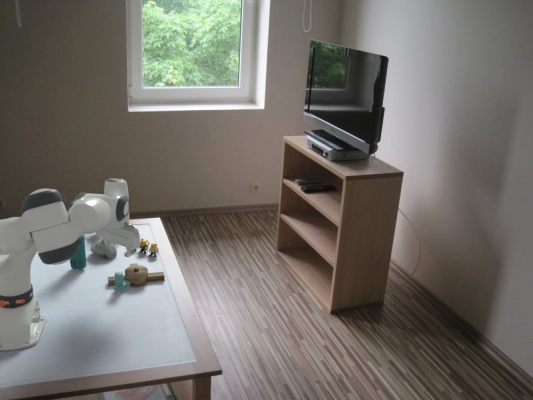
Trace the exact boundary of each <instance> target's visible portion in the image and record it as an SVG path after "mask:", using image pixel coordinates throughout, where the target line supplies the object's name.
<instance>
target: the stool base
mask: <svg viewBox="0 0 533 400" xmlns="http://www.w3.org/2000/svg"><path fill="white" fill-rule="evenodd" d="M123 280H127V281H129V282H130V288H139V287H143V286H145V285H147V284H148V283H151V282H153V283H154V282H162V281H163V282H165V272H164V271H155V272H149V269H148V268H147V267H146V266H144V265H139V264H138V263H137V262H136V263H135V262H134V263H129V266H127V267H126V268H125V270H124V274H123ZM107 282H108V283H107V285H108V287H112V286H113V287H114V285H115V275H114V276H108V277H107Z"/></svg>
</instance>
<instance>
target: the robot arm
mask: <svg viewBox="0 0 533 400" xmlns="http://www.w3.org/2000/svg"><path fill="white" fill-rule="evenodd" d="M103 189H104V190H103V193H90V192H83V191H81V192H79V193H78V194H77V195H76V196H75V198H74V200H72V201H71V202H69V205H68V210H67V208H66V205H65V203H64V202H63V201H64V198H63V196H62V195H61V192H60V191H59V190H57V189H54V188H53V189H51V188H39V189H36V190H34V191H33V192H31V193H30V194H28V195H26V197H25V198H24V200H23V201H22V203H21V204H22V205H21V208H19V209H18V210H17V211H18V212H21V216H13V217H12V216H11V217H8V218H2V219H0V256H4V255H5V256H6V255H8V256H7V257H6V258H5V259H3V260H1V261H0V351H14V350H21V349H26V348H30V347H33V346H35V345H37V344H38V342H39V340H40V337H41V335H42V333H43V330H44V329H45V325H46V323H47V317H46V316H43V315H41V310H40V301H39V299H38V298H37V297H35V296H34V287H33V283H32V281H31V279H32V277H31V267H32V262H33V260H34V258H35V256H36V254H37V255H38V257H39V259H40V261H41V262H42V263H43V265H44V264H45V265H52V266H57V265H58V266H59V265H62V264H65V263H67V262H70V259H71V258H73V257H74V256H75V254H76V253H77V251H78V249H79V245H80V244H82V241H79V239H80V238H79V237H80V236H81V235H91V234H95V235H96V236H97V237H98V238H101V239H104V242H105V244H106V249H107V250H109V251H110V250H112V249H113V248H112V245H111V243H110V242H112V243H113V244H115V245H119V246H120V247H121V246H122V247H124V248H125V249H126V251H124V257H125V258H130V257H131V252H132V251H134V250H135V249H136V250H137V249H140V248H139V247H140V243H141V237H140V232H139V228H137V227H136V225H134V224H131V223H130V196H129V195H130V194H129V188H128V182H127V180H125V179H123V178H117V177H116V178H115V177H114V178H107V179H106V180H105V181H104V188H103Z"/></svg>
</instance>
